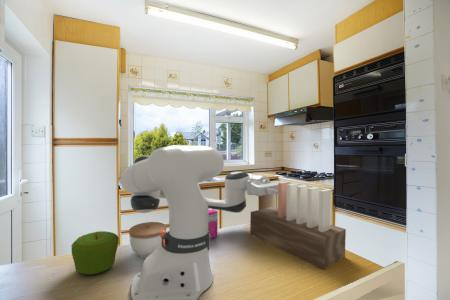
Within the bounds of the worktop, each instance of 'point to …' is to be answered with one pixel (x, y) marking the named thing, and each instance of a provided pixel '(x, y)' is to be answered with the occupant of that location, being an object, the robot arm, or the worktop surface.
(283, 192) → the domino
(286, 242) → the domino stand
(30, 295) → the worktop surface
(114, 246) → the apple
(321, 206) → the domino
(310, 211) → the domino
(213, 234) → the supplement box
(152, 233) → the lidded bowl
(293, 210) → the domino
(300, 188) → the domino
